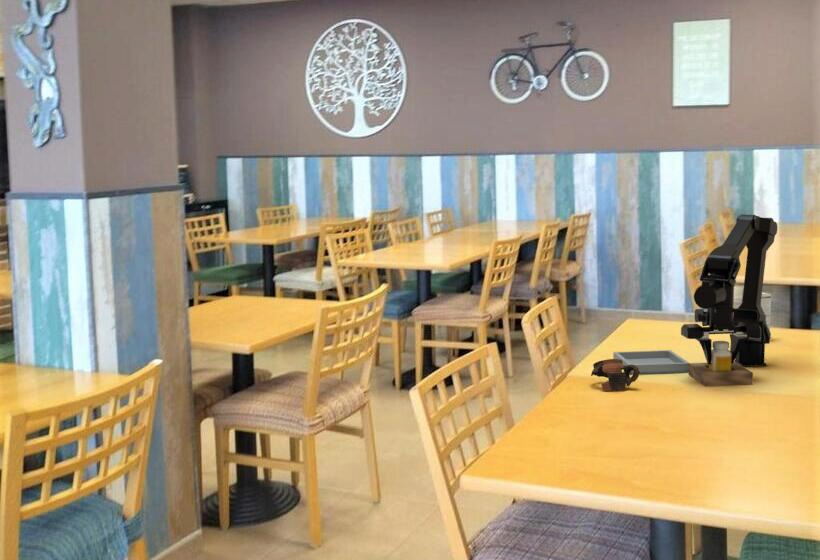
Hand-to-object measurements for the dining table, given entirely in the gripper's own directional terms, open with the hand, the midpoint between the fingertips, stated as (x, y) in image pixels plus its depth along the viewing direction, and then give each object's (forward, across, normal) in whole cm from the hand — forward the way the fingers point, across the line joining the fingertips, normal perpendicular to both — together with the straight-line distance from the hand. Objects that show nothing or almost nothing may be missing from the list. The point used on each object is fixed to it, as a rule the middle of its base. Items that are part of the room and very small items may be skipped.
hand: (720, 363), depth 246 cm
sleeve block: (+4, 0, 0) cm, 4 cm away
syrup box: (+4, -27, -43) cm, 51 cm away
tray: (+4, +13, -16) cm, 21 cm away
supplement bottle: (+4, 0, 0) cm, 4 cm away
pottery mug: (+4, +28, +4) cm, 28 cm away
